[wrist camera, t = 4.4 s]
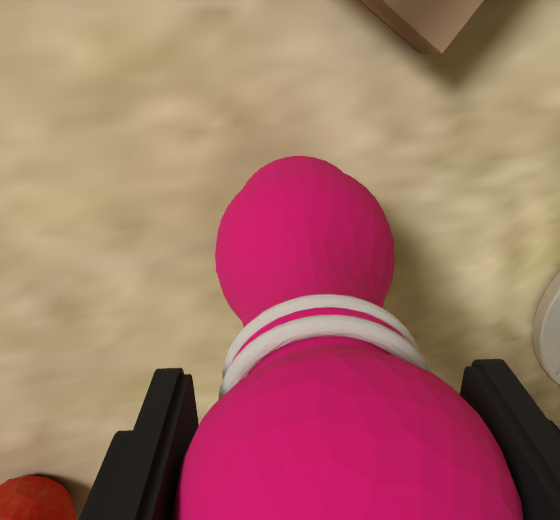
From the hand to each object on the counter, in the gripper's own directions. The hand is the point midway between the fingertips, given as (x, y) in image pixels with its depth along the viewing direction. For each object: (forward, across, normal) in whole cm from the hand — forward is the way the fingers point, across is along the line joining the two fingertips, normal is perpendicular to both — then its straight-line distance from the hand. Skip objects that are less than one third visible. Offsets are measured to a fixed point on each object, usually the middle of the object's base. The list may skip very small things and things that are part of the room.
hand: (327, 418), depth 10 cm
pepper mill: (+14, 0, 0) cm, 14 cm away
